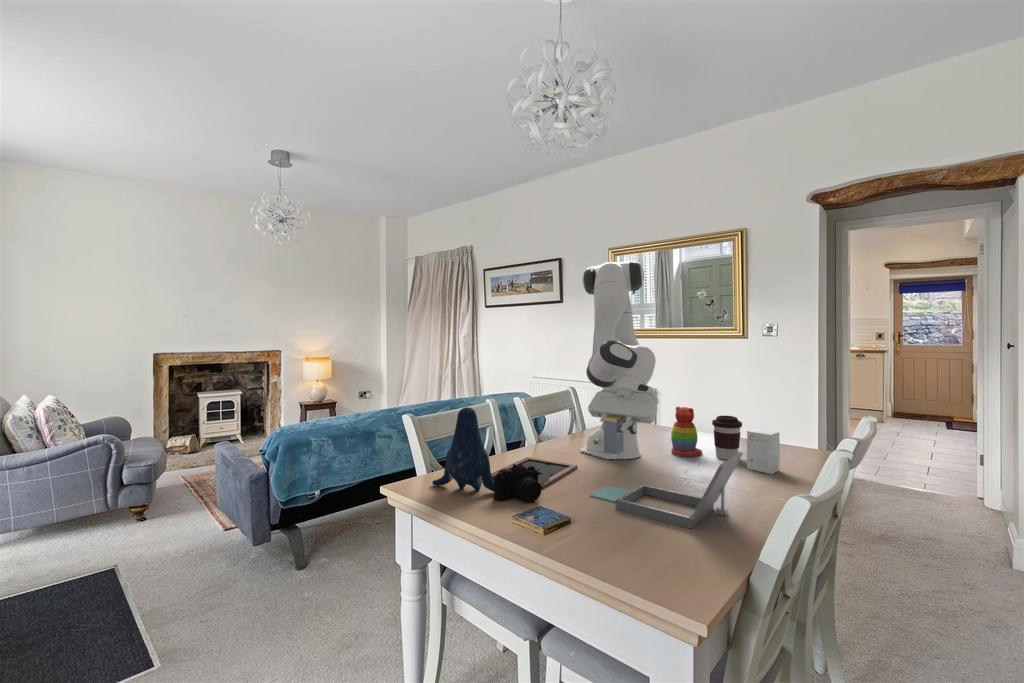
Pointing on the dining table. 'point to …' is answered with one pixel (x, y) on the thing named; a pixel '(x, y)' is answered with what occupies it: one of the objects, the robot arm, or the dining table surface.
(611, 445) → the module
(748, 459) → the small box
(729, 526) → the dining table surface
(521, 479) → the film camera
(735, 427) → the coffee cup
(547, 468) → the picture frame
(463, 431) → the dark blue plush toy
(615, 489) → the pad
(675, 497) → the case
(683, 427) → the stacking bear
